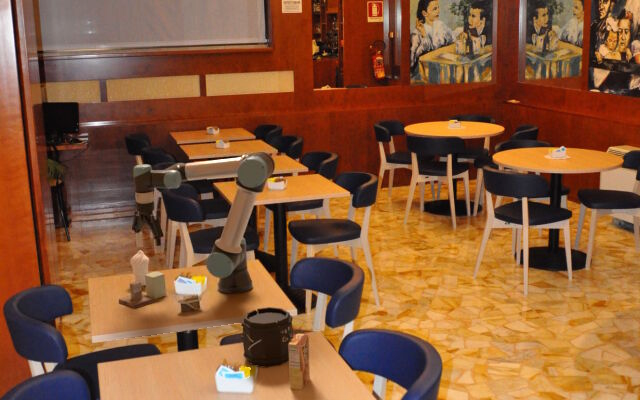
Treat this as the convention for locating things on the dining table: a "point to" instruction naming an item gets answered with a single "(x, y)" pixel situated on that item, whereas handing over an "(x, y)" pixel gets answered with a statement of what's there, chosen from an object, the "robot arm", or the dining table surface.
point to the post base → (138, 302)
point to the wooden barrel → (267, 336)
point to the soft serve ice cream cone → (140, 266)
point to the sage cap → (155, 284)
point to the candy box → (299, 361)
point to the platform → (190, 303)
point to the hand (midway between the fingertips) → (148, 250)
